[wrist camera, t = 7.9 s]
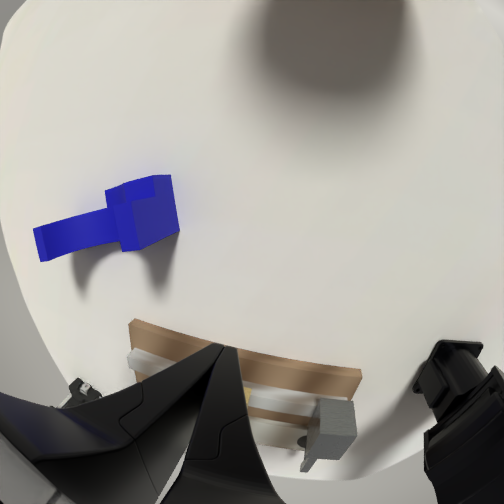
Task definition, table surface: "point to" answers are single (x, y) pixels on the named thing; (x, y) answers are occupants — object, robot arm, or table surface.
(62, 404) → the push button
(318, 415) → the fixed leg
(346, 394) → the board
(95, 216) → the cable clip
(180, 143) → the table surface
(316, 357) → the table surface
